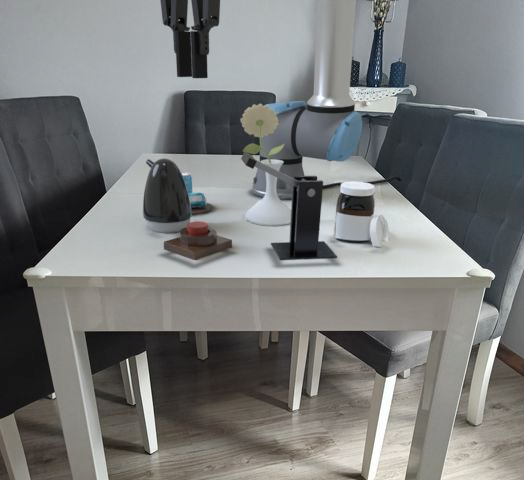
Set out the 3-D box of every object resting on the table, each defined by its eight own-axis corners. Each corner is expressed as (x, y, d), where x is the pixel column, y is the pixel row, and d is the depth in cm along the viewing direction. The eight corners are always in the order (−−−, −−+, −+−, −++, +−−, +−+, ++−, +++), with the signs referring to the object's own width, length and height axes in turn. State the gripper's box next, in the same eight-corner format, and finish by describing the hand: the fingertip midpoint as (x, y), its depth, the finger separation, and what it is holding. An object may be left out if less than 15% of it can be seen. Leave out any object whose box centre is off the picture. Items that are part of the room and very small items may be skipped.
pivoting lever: (244, 168, 89) (250, 154, 88) (239, 161, 94) (245, 148, 93) (314, 202, 94) (321, 189, 93) (306, 194, 99) (312, 182, 98)
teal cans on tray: (205, 200, 136) (204, 169, 132) (218, 213, 127) (217, 179, 123) (159, 203, 132) (157, 171, 128) (168, 216, 123) (166, 182, 119)
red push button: (198, 229, 102) (197, 220, 101) (212, 233, 100) (212, 224, 99) (182, 233, 99) (182, 224, 98) (197, 238, 97) (197, 228, 96)
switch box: (201, 243, 107) (201, 221, 105) (232, 253, 103) (232, 230, 100) (164, 255, 100) (162, 232, 98) (195, 266, 96) (194, 242, 94)
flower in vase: (300, 220, 123) (307, 103, 111) (287, 234, 114) (293, 108, 101) (247, 214, 127) (249, 100, 114) (231, 227, 117) (230, 104, 105)
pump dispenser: (169, 222, 119) (165, 152, 111) (202, 232, 113) (200, 158, 106) (134, 232, 112) (126, 158, 104) (166, 243, 106) (161, 165, 99)
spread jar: (332, 233, 115) (338, 178, 109) (384, 236, 114) (392, 181, 109) (333, 251, 105) (339, 192, 99) (390, 254, 104) (399, 195, 98)
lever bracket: (279, 266, 97) (283, 184, 90) (270, 249, 105) (273, 173, 97) (336, 264, 99) (344, 184, 91) (323, 248, 106) (330, 173, 99)
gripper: (128, -107, 76) (143, 75, 88) (206, -123, 68) (210, 80, 79) (168, -96, 81) (176, 74, 93) (245, -111, 73) (243, 79, 84)
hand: (192, 77), depth 86 cm, fingers open, 3 cm apart
